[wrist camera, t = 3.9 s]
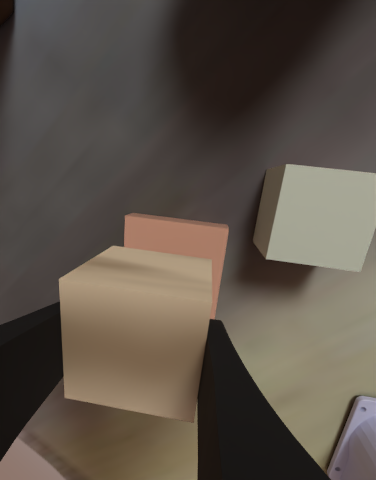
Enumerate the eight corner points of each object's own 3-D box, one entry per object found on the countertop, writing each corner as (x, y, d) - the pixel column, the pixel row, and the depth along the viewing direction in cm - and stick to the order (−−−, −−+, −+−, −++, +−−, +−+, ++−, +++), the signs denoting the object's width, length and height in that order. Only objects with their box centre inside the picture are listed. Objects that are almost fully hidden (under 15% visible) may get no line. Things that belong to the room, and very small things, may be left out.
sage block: (322, 250, 15) (360, 272, 11) (252, 241, 16) (265, 259, 12) (343, 178, 14) (393, 175, 10) (266, 169, 14) (286, 163, 11)
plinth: (213, 310, 17) (213, 321, 16) (129, 296, 18) (122, 306, 16) (227, 224, 15) (229, 228, 14) (133, 212, 16) (125, 215, 14)
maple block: (199, 344, 12) (193, 422, 8) (111, 330, 12) (64, 397, 8) (211, 259, 10) (212, 302, 7) (113, 245, 11) (59, 279, 7)
